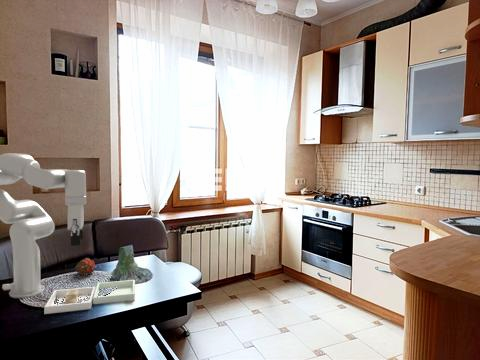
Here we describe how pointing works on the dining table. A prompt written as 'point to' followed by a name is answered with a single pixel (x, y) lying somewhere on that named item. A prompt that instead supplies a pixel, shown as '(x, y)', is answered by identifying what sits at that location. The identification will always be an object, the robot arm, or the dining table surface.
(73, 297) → the birch block
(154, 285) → the dining table surface
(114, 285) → the sage bin
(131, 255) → the tree stump
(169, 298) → the dining table surface
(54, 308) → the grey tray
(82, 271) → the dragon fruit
